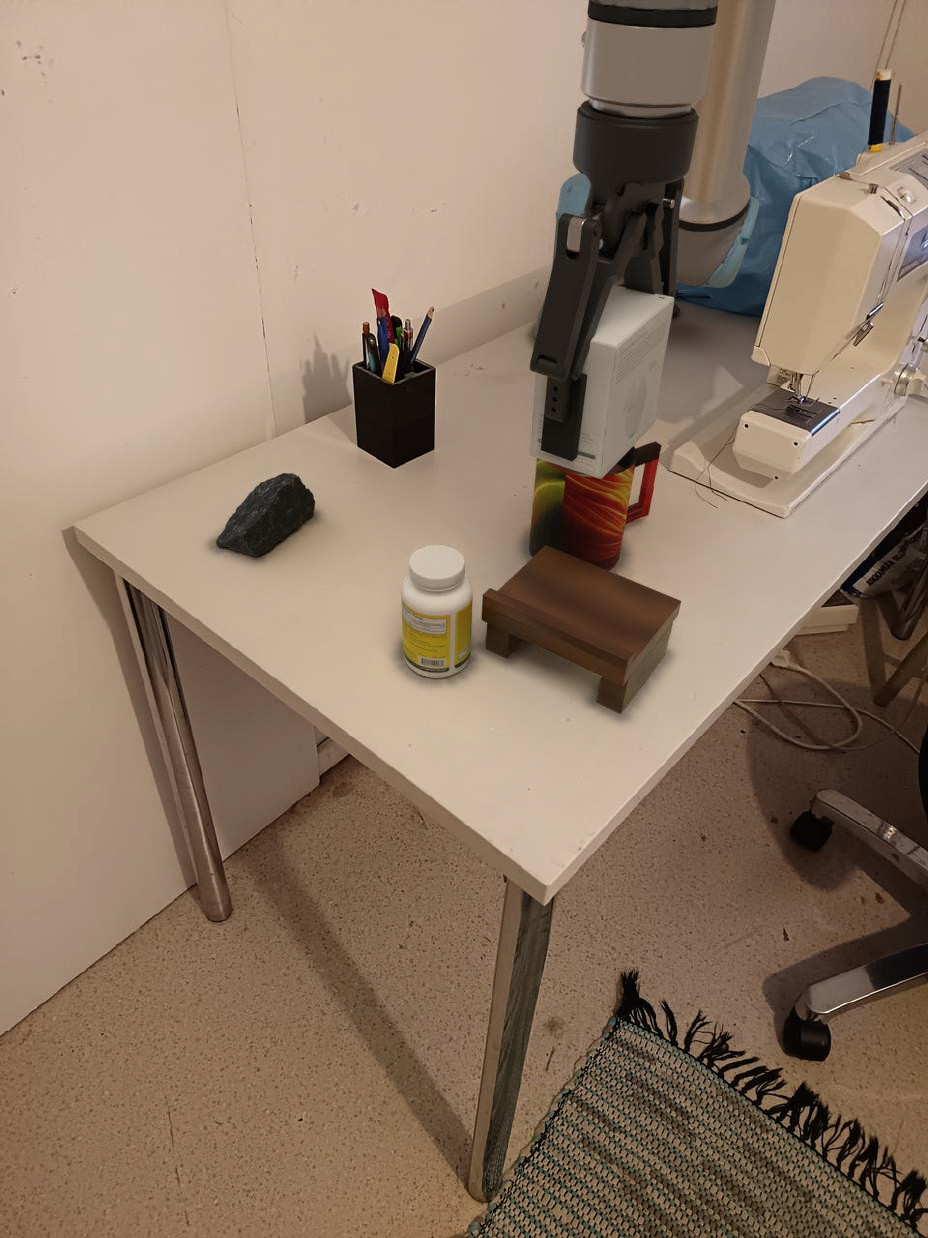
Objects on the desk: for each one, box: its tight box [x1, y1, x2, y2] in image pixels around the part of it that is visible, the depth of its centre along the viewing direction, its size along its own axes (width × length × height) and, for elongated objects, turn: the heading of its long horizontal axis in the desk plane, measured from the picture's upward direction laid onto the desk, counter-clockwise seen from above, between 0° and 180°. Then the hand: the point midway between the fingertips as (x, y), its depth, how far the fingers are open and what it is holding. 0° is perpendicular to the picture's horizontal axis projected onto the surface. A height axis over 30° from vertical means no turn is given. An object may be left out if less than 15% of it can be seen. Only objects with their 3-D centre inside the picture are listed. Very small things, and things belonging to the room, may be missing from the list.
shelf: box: [480, 545, 682, 715], centre depth 79 cm, size 11×14×7 cm
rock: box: [215, 472, 316, 557], centre depth 92 cm, size 7×10×6 cm
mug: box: [528, 440, 662, 571], centre depth 90 cm, size 10×14×12 cm
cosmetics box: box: [529, 285, 675, 479], centre depth 66 cm, size 10×6×10 cm, turn 148°
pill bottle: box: [400, 544, 474, 679], centre depth 76 cm, size 6×6×11 cm
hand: (594, 424), depth 69 cm, fingers closed on cosmetics box, 11 cm apart
